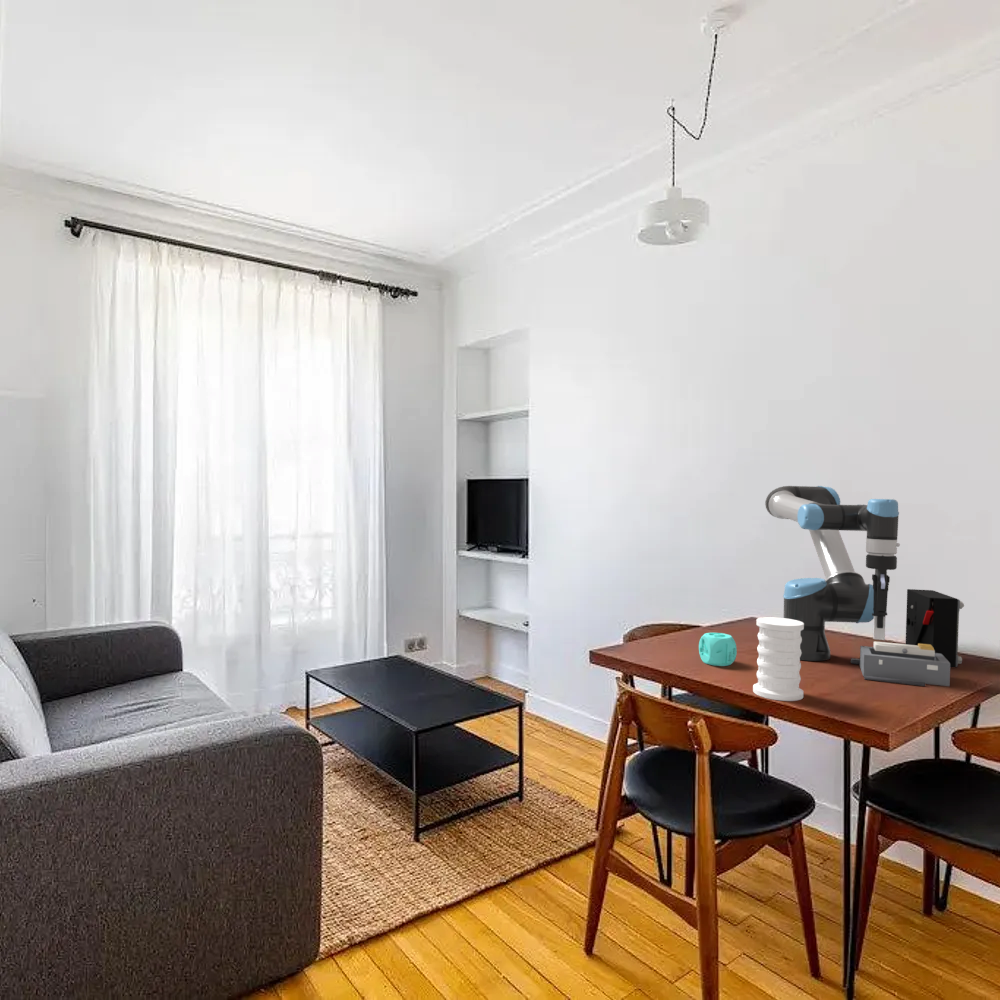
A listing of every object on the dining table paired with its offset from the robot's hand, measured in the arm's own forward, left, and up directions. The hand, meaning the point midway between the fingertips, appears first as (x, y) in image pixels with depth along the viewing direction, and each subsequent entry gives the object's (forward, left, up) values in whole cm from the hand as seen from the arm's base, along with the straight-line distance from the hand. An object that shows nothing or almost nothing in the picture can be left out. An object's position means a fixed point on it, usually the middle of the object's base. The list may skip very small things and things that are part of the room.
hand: (878, 639), depth 192 cm
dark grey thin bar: (+3, -9, -10) cm, 13 cm away
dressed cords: (+6, +10, -10) cm, 15 cm away
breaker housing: (+6, 0, -10) cm, 11 cm away
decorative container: (-25, -34, -10) cm, 43 cm away
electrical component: (+17, +26, -10) cm, 33 cm away
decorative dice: (-42, -9, -10) cm, 44 cm away
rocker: (+6, 0, -2) cm, 6 cm away
